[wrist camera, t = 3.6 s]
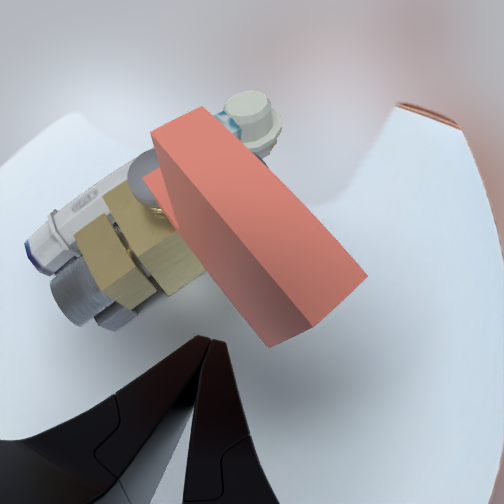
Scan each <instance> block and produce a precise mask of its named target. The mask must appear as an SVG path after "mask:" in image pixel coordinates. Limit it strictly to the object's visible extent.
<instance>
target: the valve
mask: <svg viewBox="0 0 504 504" xmlns="http://www.w3.org/2000/svg"><path fill="white" fill-rule="evenodd" d="M252 153H253V154H254V155H255V156H256V157H257V158H258V159H259V160H260V161H261V162H262V163H263V164H264V165H265V166H266V167H267V165H266V163H265V162H264V161H263V160H262V159H261V158H260V157H259V156H258V155H257V154H255V153H254V152H252ZM102 198H103V199H104V201H105V203H106V205H107V207H108V208H109V210H110V212H111V214H112V216H113V217H114V219H115V221H116V222H117V224H118V226H119V228H120V229H119V230H118V231H117V230H116V228H115V227H114V226H113V224H112V223H111V221H110V220H109V219H108V217H107V216H106V214H105V213H103V214H102V215H100V216H99V217H97V218H96V219H95V220H93V221H92V222H90V223H89V224H88V225H86V226H85V227H83V228H82V229H81V230H79V231H78V232H77V233H75V234H74V235H73V236H74V238H75V240H76V242H77V245H78V247H79V249H80V251H81V253H82V255H83V256H82V257H81V258H79V259H78V260H77V261H75V262H74V263H73V264H72V265H70V266H69V267H68V268H66V269H65V270H64V271H63V272H61V273H60V274H59V275H58V276H56V277H55V278H54V279H53V280H51V282H50V288H51V291H52V294H53V297H54V299H55V301H56V303H57V304H58V306H59V308H60V309H61V310H62V312H63V313H64V314H65V316H66V317H67V318H68V319H69V320H70V321H71V322H73V323H74V324H75V325H77V326H82V325H84V324H85V323H86V322H88V321H89V320H90V319H92V318H93V317H94V318H95V320H96V322H97V324H98V326H101V327H103V328H106V329H109V330H112V331H115V330H117V329H118V328H120V327H121V326H122V325H124V324H125V323H126V322H128V321H129V320H131V319H132V318H133V317H135V316H136V315H138V314H137V312H136V311H135V309H134V307H136V306H137V305H139V304H140V303H141V302H143V301H144V300H145V299H147V298H148V297H150V296H151V295H152V294H154V293H155V292H157V290H156V288H155V287H154V285H153V284H152V282H151V281H150V279H149V278H148V277H149V276H151V275H152V276H153V278H154V279H155V280H156V281H157V283H158V284H159V285H160V286H161V288H162V289H163V290H164V291H165V292H166V294H167V295H168V296H171V295H172V294H173V293H175V292H176V291H178V290H179V289H180V288H182V287H183V286H185V285H186V284H187V283H189V282H190V281H192V280H193V279H194V278H196V277H197V276H199V275H200V274H201V273H203V272H204V271H206V269H205V268H204V266H203V265H202V264H201V263H200V261H199V260H198V259H197V257H196V256H195V255H194V253H193V252H192V251H191V249H190V248H189V247H188V245H187V244H186V243H185V241H184V240H183V239H182V237H181V236H180V234H179V233H178V232H177V230H176V229H175V228H174V226H173V225H172V224H171V222H170V221H169V219H168V218H167V217H166V215H165V214H164V212H163V211H162V210H161V208H160V207H148V206H145V205H143V204H141V203H140V202H138V201H137V199H136V198H135V196H134V194H133V192H132V190H131V188H130V186H129V184H128V180H125V181H124V182H122V183H121V184H119V185H118V186H116V187H115V188H113V189H112V190H110V191H109V192H107V193H106V194H104V195H103V196H102Z"/></svg>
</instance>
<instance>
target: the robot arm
mask: <svg viewBox="0 0 504 504" xmlns="http://www.w3.org/2000/svg"><path fill="white" fill-rule="evenodd" d="M193 408H194V412H193V419H192V426H191V434H190V441H189V449H188V457H187V465H186V473H185V482H184V491H183V500H182V504H280V503H279V501H278V499H277V497H276V496H275V494H274V492H273V490H272V488H271V486H270V484H269V482H268V480H267V478H266V475H265V473H264V471H263V469H262V466H261V464H260V461H259V458H258V456H257V453H256V450H255V447H254V443H253V440H252V437H251V435H250V430H249V427H248V423H247V420H246V416H245V413H244V409H243V405H242V402H241V398H240V394H239V391H238V387H237V383H236V379H235V376H234V372H233V368H232V364H231V360H230V356H229V352H228V348H227V344H226V343H225V342H223V341H219V340H216V339H212V340H211V339H210V338H208V337H204V336H201V335H197V336H195V337H194V338H192V339H191V340H190V341H188V342H187V343H185V344H184V345H183V346H181V347H180V348H179V349H177V350H176V351H174V352H173V353H172V354H170V355H169V356H167V357H166V358H165V359H163V360H162V361H160V362H159V363H158V364H156V365H155V366H153V367H152V368H150V369H149V370H148V371H146V372H145V373H143V374H142V375H140V376H139V377H138V378H136V379H135V380H133V381H132V382H130V383H129V384H127V385H126V386H125V387H123V388H122V389H120V390H119V391H117V392H116V393H115V394H113V395H111V396H110V397H108V398H107V399H105V400H104V401H102V402H101V403H99V404H97V405H96V406H94V407H93V408H91V409H89V410H88V411H86V412H84V413H82V414H80V415H78V416H76V417H74V418H72V419H70V420H68V421H66V422H64V423H62V424H59V425H57V426H55V427H53V428H51V429H48V430H46V431H44V432H42V433H39V434H37V435H35V436H32V437H29V438H26V439H21V440H0V504H150V501H151V499H152V497H153V495H154V493H155V491H156V489H157V487H158V484H159V482H160V480H161V478H162V476H163V474H164V472H165V469H166V467H167V465H168V463H169V461H170V459H171V456H172V454H173V452H174V450H175V448H176V446H177V444H178V441H179V439H180V437H181V435H182V433H183V430H184V428H185V426H186V424H187V422H188V420H189V417H190V415H191V413H192V410H193Z"/></svg>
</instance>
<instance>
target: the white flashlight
mask: <svg viewBox="0 0 504 504" xmlns="http://www.w3.org/2000/svg"><path fill="white" fill-rule="evenodd" d="M214 117H215V118H216V119H217V120H218V121H219V122H220V123H221V124H222V125H224V126H225V127H226V128H227V129H228V130H229V131H230V132H231V133H232V134H233V135H234V136H235V137H236V138H237V139H239V140H240V141H241V142H242V143H243V144H244V145H245V146H246V147H247V148H248V149H249V150H250V151H251V152H254V153H255V154H257V155H258V156H259V157H260V158H261V159H262V158H264V157H265V156H267V155H269V154H270V151H271V150H272V148H273V146H274V145H275V144H276V142H277V137H278V135H279V134H280V133H281V128H282V126H281V117H280V115H279V114H278V113H277V112H276V111H275V110H274V109H272V108H271V103H270V100H269V99H268V98H267V96H265V95H264V94H263V93H262V92H258V91H253V90H250V91H243V92H240V93H238V94H235V95H233V96H232V97H231V98H230V99H229V100H228V101H227V102H226V104H225V106H224V108H223V111H222V112H220V113H218V114H216V115H214ZM152 149H155V148H154V147H153V148H152ZM150 150H151V149H150ZM135 159H136V158H135ZM135 159H133V160H132V161H130V162H128V163H127V164H125V165H124V166H122V167H121V168H119V169H117V170H116V171H114V172H113V173H111V174H110V175H108V176H107V177H105V178H104V179H102V180H101V181H99V182H98V183H97V184H95V185H94V186H92V187H91V188H89V189H88V190H87V191H85V192H84V193H82V194H81V195H80V196H78V197H77V198H76V199H74V200H73V201H71V202H70V203H69V204H68V205H66V206H65V207H64V208H62V209H61V210H60V211H57V210H56V209H55V210H54V211H53V212H52V213H50V214H49V215H48V221H47V222H46V223H45V224H44V225H43V226H41V227H40V228H39V229H38V230H37V231H36V232H35V233H34V234H33V235H32V236H31V237H30V238H29V239H28V240H27V241H26V242H25V243H24V244H25V248H26V252H27V256H28V259H29V260H30V261H31V262H32V264H33V265H34V266H35V268H36V269H37V270H38V271H39V272H40V273H43V274H45V275H47V276H51V275H52V274H53V273H54V272H56V271H57V270H58V269H59V268H60V267H61V266H63V265H64V264H65V263H66V262H67V261H68V260H70V259H71V258H72V257H73V256H76V257H78V258H79V257H80V256H81V254H82V253H81V251H80V249H79V247H78V245H77V242H76V240H75V238H74V236H73V235H74V234H75V233H77V232H78V231H79V230H81V229H82V228H83V227H85V226H86V225H88V224H89V223H90V222H92V221H93V220H95V219H96V218H97V217H99V216H100V215H102V214H103V213H105V214H106V216H107V217H108V219H109V220H110V221H111V223H112V224H114V223H115V222H116V221H115V219H114V217H113V216H112V214H111V212H110V210H109V208H108V207H107V205H106V203H105V201H104V199H103V198H102V196H103V195H104V194H106V193H107V192H109V191H110V190H112V189H113V188H115V187H116V186H118V185H119V184H121V183H122V182H124V181H125V180H127V174H128V170H129V167H130V165H131V164H132V162H133V161H134V160H135Z"/></svg>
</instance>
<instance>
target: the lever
mask: <svg viewBox="0 0 504 504" xmlns="http://www.w3.org/2000/svg"><path fill="white" fill-rule="evenodd" d="M150 133H151V137H152V141H153V144H154V148H155V149H151V150H148V151H146V152H144V153H142V154H141V155H139V156H138V157H137V158H136V159H135V160H134V161H133V162H132V164H131V165H130V167H129V170H128V174H127V180H128V184H129V186H130V188H131V190H132V192H133V194H134V196H135V198H136V199H137V201H138V202H140V203H141V204H143V205H145V206H148V207H160V208H161V210H162V211H163V212H164V214H165V215H166V217H167V218H168V219H169V221H170V222H171V224H172V225H173V226H174V228H175V229H176V230H177V232H178V233H179V234H180V236H181V237H182V239H183V240H184V241H185V243H186V244H187V245H188V247H189V248H190V249H191V251H192V252H193V253H194V255H195V256H196V257H197V259H198V260H199V261H200V263H201V264H202V265H203V266H204V268H205V269H206V270H207V272H208V273H209V274H210V276H211V277H212V278H213V280H214V281H215V282H216V283H217V285H218V286H219V287H220V289H221V290H222V291H223V292H224V294H225V295H226V296H227V297H228V299H229V300H230V301H231V303H232V304H233V305H234V306H235V308H236V309H237V310H238V311H239V313H240V314H241V315H242V316H243V318H244V319H245V320H246V321H247V323H248V324H249V325H250V326H251V328H252V329H253V330H254V331H255V332H256V334H257V335H258V336H259V337H260V339H261V340H262V341H263V342H264V343H265V345H266V346H267V347H268V348H270V347H272V346H275V345H277V344H279V343H281V342H283V341H285V340H287V339H290V338H292V337H294V336H296V335H298V334H300V333H302V332H304V331H306V330H308V329H310V328H312V327H314V326H315V325H316V324H317V323H319V322H320V321H321V320H322V319H323V318H324V317H325V316H326V315H327V314H329V313H330V312H331V311H332V310H333V309H334V308H335V307H336V306H337V305H338V304H339V303H341V302H342V301H343V300H344V299H345V298H346V297H347V296H348V295H349V294H350V293H351V292H352V291H353V290H354V289H355V288H356V287H357V286H358V285H359V284H360V283H361V282H363V281H364V280H365V279H366V278H367V277H368V276H367V274H366V273H365V272H364V271H363V270H362V268H361V267H360V266H359V265H358V264H357V263H356V262H355V260H354V259H353V258H352V257H351V256H350V255H349V253H348V252H347V251H346V250H345V249H344V248H343V247H342V246H341V244H340V243H339V242H338V241H337V240H336V239H335V238H334V237H333V236H332V234H331V233H330V232H329V231H328V230H327V229H326V228H325V227H324V226H323V225H322V223H321V222H320V221H319V220H318V219H317V218H316V217H315V216H314V215H313V214H312V213H311V212H310V211H309V210H308V208H307V207H306V206H305V205H304V204H303V203H302V202H301V201H300V200H299V199H298V198H297V197H296V196H295V195H294V194H293V193H292V192H291V191H290V190H289V189H288V188H287V187H286V186H285V185H284V184H283V183H282V182H281V181H280V179H278V177H277V176H275V175H274V174H273V173H272V172H271V170H269V168H268V167H266V166H265V165H264V164H263V163H262V162H261V161H260V160H259V159H258V158H257V157H256V156H255V155H254V154H253V153H252V152H251V151H250V150H249V149H248V148H247V147H246V146H245V145H244V144H243V143H242V142H241V141H240V140H239V139H237V138H236V137H235V136H234V135H233V134H232V133H231V132H230V131H229V130H228V129H227V128H226V127H225V126H224V125H222V124H221V123H220V122H219V121H218V120H217V119H216V118H215V117H214V116H213V115H211V114H210V113H209V112H208V111H207V110H206V109H205V108H204V107H202V106H201V107H199V108H198V109H195V110H193V111H191V112H189V113H187V114H185V115H183V116H180V117H178V118H176V119H174V120H172V121H171V122H169V123H167V124H165V125H163V126H161V127H159V128H157V129H155V130H153V131H151V132H150Z"/></svg>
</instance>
